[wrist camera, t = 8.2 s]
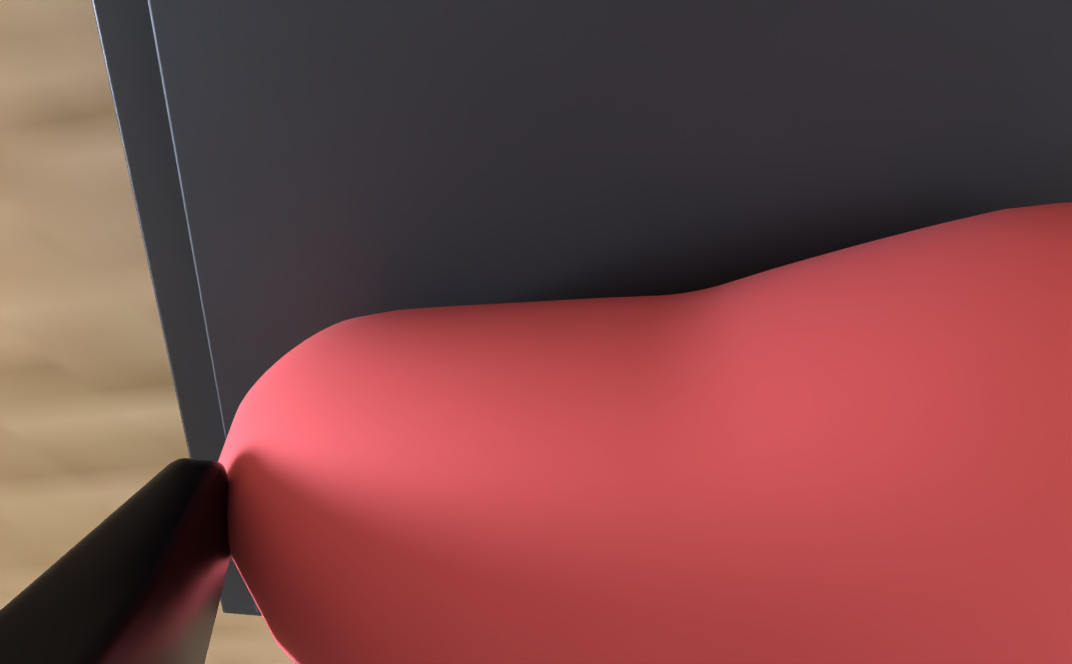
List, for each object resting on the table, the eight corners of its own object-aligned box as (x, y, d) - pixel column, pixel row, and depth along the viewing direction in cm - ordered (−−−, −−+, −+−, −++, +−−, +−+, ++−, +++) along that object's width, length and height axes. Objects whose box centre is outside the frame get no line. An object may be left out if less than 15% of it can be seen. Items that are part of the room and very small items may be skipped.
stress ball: (922, 499, 14) (1420, 813, 8) (294, 692, 12) (336, 1303, 6) (909, 137, 12) (1518, 193, 6) (183, 287, 10) (93, 572, 4)
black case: (914, 504, 18) (981, 701, 15) (279, 448, 18) (214, 636, 15) (1342, -341, 10) (1693, -294, 7) (163, -466, 10) (-42, -477, 6)
